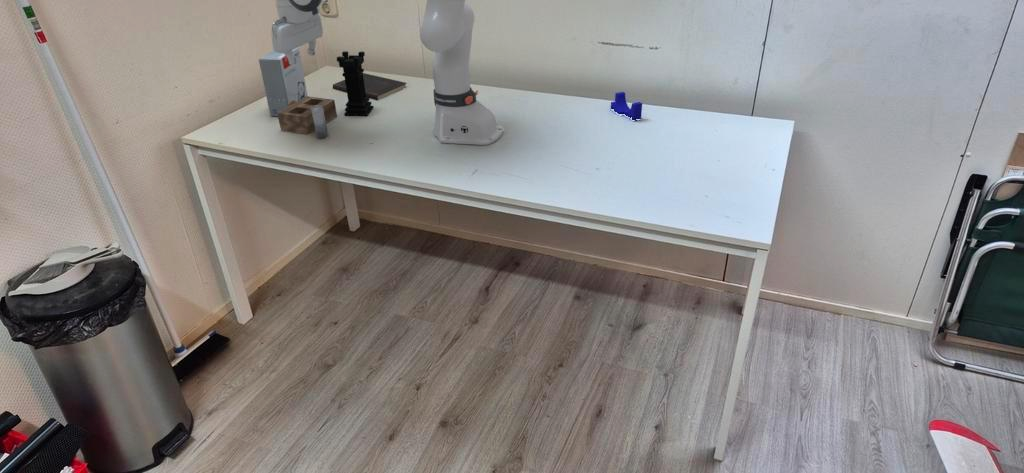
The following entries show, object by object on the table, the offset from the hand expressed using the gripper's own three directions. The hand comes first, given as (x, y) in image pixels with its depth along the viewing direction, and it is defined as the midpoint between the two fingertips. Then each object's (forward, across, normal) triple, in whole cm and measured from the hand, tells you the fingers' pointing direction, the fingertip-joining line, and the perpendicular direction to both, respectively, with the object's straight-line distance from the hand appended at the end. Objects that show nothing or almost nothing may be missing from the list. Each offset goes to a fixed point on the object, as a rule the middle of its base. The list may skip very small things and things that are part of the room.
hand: (302, 59), depth 202 cm
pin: (+23, -5, -6) cm, 24 cm away
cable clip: (+24, +44, -93) cm, 105 cm away
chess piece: (+23, +17, -5) cm, 30 cm away
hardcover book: (+24, +39, +4) cm, 46 cm away
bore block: (+23, +3, +5) cm, 24 cm away
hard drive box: (+23, +12, +20) cm, 33 cm away
